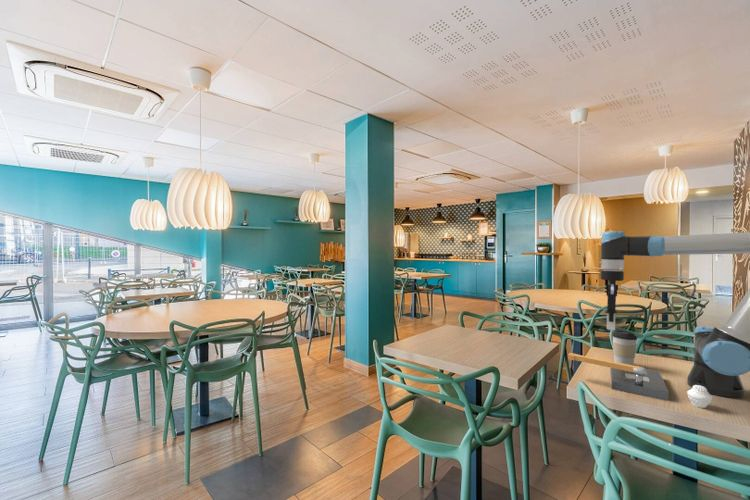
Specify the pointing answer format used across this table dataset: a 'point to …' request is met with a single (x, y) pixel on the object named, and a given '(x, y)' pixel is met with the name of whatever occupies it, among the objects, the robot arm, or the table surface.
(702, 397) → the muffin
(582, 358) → the swing arm
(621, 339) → the coffee cup
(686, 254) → the robot arm
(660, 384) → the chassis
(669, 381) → the table surface
